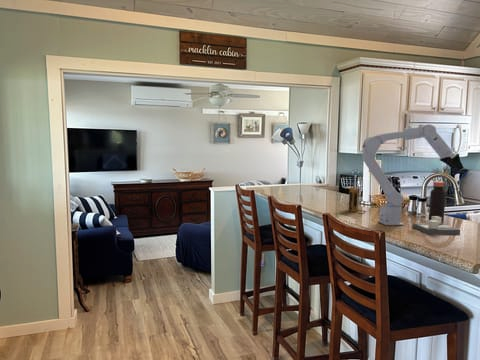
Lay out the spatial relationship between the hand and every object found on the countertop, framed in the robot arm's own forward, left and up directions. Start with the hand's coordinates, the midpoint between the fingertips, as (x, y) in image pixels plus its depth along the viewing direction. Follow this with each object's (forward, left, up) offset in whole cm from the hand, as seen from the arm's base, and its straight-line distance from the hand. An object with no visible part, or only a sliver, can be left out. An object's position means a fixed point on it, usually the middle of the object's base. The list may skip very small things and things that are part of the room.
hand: (458, 168), depth 171 cm
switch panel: (-14, -8, -28) cm, 32 cm away
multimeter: (-31, +37, -28) cm, 56 cm away
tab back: (-11, -3, -25) cm, 28 cm away
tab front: (-18, -12, -25) cm, 33 cm away
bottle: (-1, +12, -28) cm, 31 cm away
